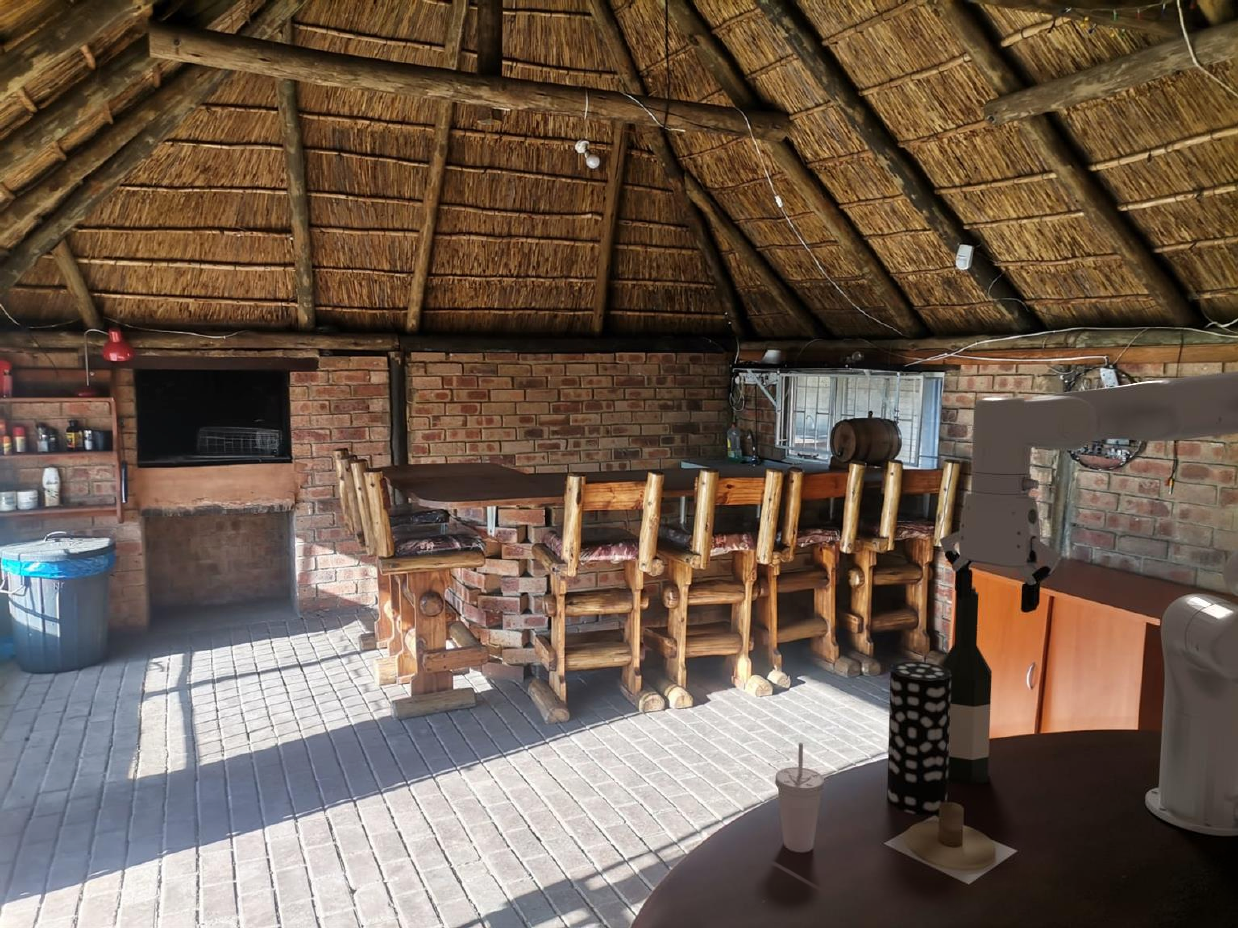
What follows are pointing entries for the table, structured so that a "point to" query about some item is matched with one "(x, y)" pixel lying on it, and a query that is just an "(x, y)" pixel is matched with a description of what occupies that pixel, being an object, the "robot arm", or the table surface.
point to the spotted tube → (918, 737)
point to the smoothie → (799, 804)
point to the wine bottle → (968, 698)
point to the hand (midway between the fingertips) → (995, 603)
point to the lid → (950, 841)
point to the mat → (961, 875)
